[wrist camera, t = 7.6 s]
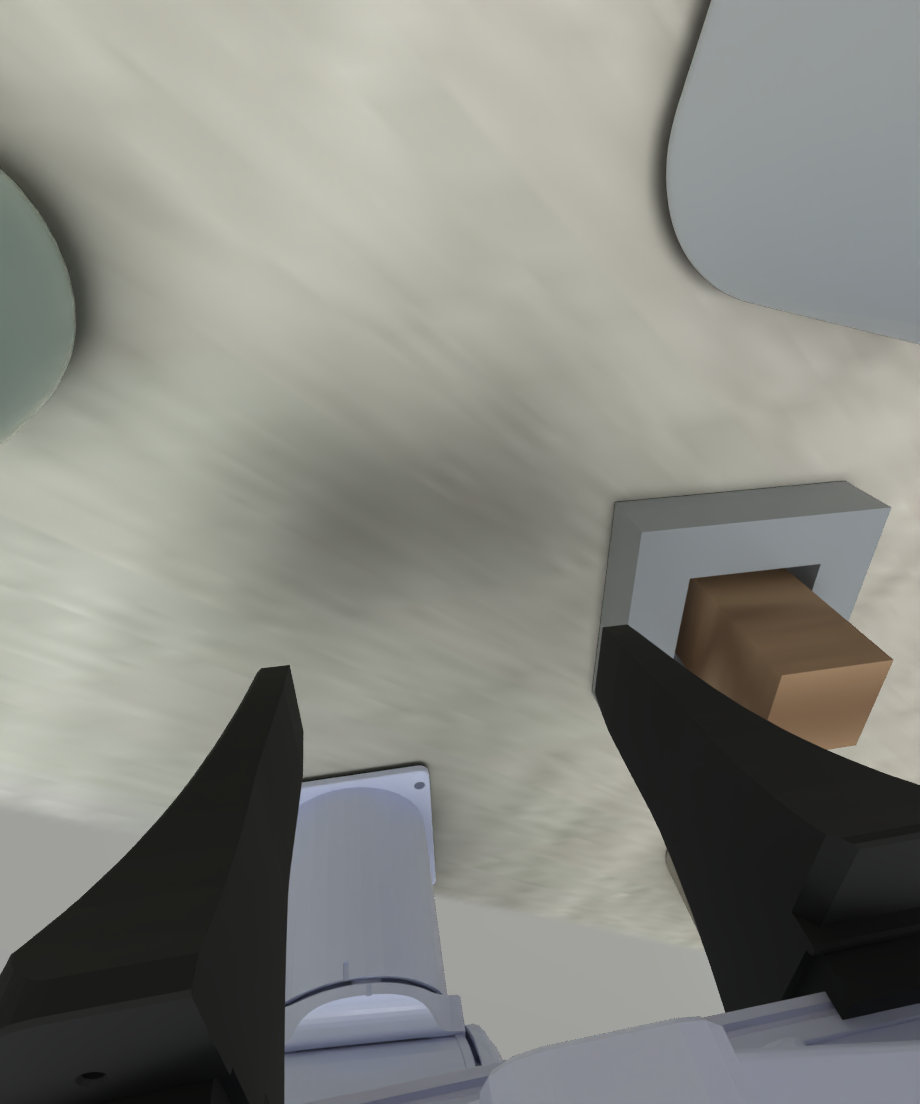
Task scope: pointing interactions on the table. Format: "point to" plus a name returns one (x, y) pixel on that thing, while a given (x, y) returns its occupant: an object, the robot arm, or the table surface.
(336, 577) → the table surface
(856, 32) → the plastic bottle
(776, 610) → the wooden rectangular block
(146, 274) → the table surface
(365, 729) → the table surface
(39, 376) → the cup
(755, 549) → the grey flat square frame
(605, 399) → the table surface
